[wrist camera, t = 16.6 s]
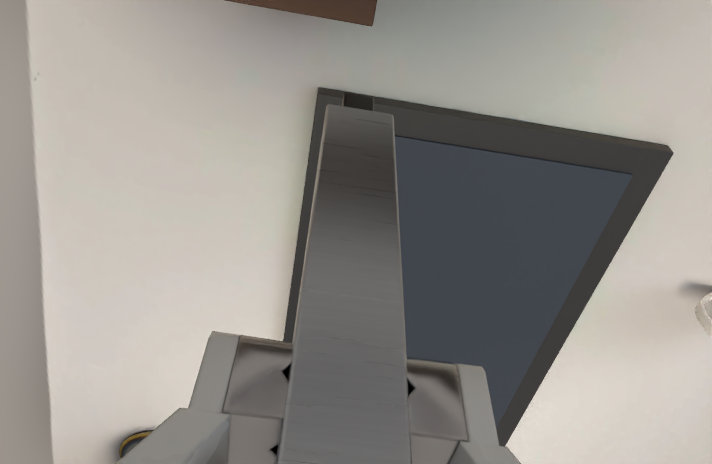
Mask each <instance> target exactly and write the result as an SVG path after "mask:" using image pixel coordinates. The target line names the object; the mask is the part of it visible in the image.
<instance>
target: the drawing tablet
mask: <svg viewBox="0 0 712 464" xmlns="http://www.w3.org/2000/svg"><path fill="white" fill-rule="evenodd" d="M344 93H349V92H343V91H337V90H331V89H325V88H319V89H318V94H317V102H316V109H315V116H314V123H313V131H312V138H311V145H310V152H309V160H308V167H307V174H306V181H305V189H304V196H303V203H302V210H301V218H300V225H299V232H298V239H297V247H296V254H295V261H294V268H293V276H292V283H291V290H290V297H289V305H288V312H287V319H286V326H285V334H284V341H283V342H289V343H292V342H293V335H294V328H295V321H296V314H297V307H298V300H299V293H300V286H301V279H302V272H303V265H304V258H305V251H306V244H307V237H308V230H309V223H310V216H311V209H312V202H313V195H314V188H315V181H316V174H317V166H318V159H319V153H320V146H321V139H322V133H323V126H324V119H325V112H326V106H327V105H328V104H332V105H338V106H342V101H343V95H344ZM351 94H355V93H351ZM357 95H361V94H357ZM363 96H367V95H363ZM369 97H373V96H369ZM373 98H374V111H375V112H381V113H387V114H392V115H393V117H394V135H395V153H396V172H397V190H398V209H399V227H400V246H401V264H402V283H403V302H404V320H405V339H406V357H412V358H420V359H429V360H437V361H446V362H453V363H454V364H455V363H458V364H466V365H474V366H482V367H483V369H484V370H485V373H486V378H487V384H488V389H489V394H490V400H491V405H492V410H493V415H494V421H495V426H496V431H497V436H498V442H499V446H505V445H506V443H507V442H508V440H509V438H510V436H511V435H512V433H513V431H514V430H515V428H516V426H517V424H518V423H519V421H520V419H521V417H522V416H523V414H524V412H525V410H526V409H527V407H528V405H529V403H530V402H531V400H532V398H533V396H534V395H535V393H536V391H537V390H538V388H539V386H540V384H541V383H542V381H543V379H544V377H545V376H546V374H547V372H548V370H549V369H550V367H551V365H552V363H553V362H554V360H555V358H556V357H557V355H558V353H559V351H560V350H561V348H562V346H563V344H564V343H565V341H566V339H567V337H568V336H569V334H570V332H571V330H572V329H573V327H574V325H575V323H576V322H577V320H578V318H579V317H580V315H581V313H582V311H583V310H584V308H585V306H586V304H587V303H588V301H589V299H590V297H591V296H592V294H593V292H594V290H595V289H596V287H597V285H598V284H599V282H600V280H601V278H602V277H603V275H604V273H605V271H606V270H607V268H608V266H609V264H610V263H611V261H612V259H613V257H614V256H615V254H616V252H617V250H618V249H619V247H620V245H621V244H622V242H623V240H624V238H625V237H626V235H627V233H628V231H629V230H630V228H631V226H632V224H633V223H634V221H635V219H636V217H637V216H638V214H639V212H640V210H641V209H642V207H643V205H644V204H645V202H646V200H647V198H648V197H649V195H650V193H651V191H652V190H653V188H654V186H655V184H656V183H657V181H658V179H659V177H660V176H661V174H662V172H663V171H664V169H665V167H666V165H667V164H668V162H669V160H670V158H671V157H672V155H673V152H672V150H671V149H670V148H669V147H668V146H666V145H660V144H654V143H648V142H642V141H636V140H630V139H624V138H618V137H612V136H606V135H600V134H594V133H588V132H582V131H576V130H570V129H564V128H558V127H552V126H546V125H540V124H534V123H528V122H522V121H516V120H510V119H504V118H498V117H492V116H486V115H480V114H474V113H468V112H462V111H456V110H450V109H444V108H438V107H432V106H427V105H421V104H415V103H409V102H403V101H397V100H391V99H385V98H379V97H373Z"/></svg>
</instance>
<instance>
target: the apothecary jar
mask: <svg viewBox="0 0 712 464" xmlns="http://www.w3.org/2000/svg"><path fill="white" fill-rule="evenodd" d="M151 432H152V431H147V432H141V433H138V434H134V435H132V436H130V437H128V438H127V439H126V440H125V441H124V442H123V443H122V444H121V446H120V450H119V453H120V457H121V458H122V457H124V456H125V455H126V454H127V453H128V452H129V451H131V450H132V449H133V448H134V447H135V446H136V445H137V444H139V443H140V442H141V441H142V440H143V439H144V438H146V437H147V436H148V435H149V434H150V433H151Z"/></svg>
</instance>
